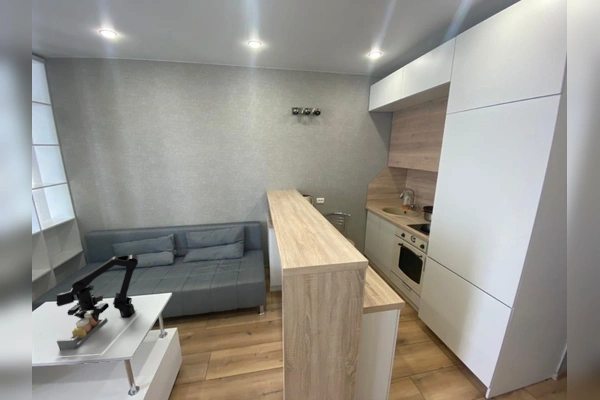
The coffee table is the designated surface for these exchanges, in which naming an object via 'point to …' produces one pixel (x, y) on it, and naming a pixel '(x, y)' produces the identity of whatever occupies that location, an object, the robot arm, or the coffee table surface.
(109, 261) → the robot arm
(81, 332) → the yellow lumpy piece
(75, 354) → the coffee table surface
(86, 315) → the jar
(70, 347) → the tray
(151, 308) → the coffee table surface
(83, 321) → the jar
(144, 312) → the coffee table surface
